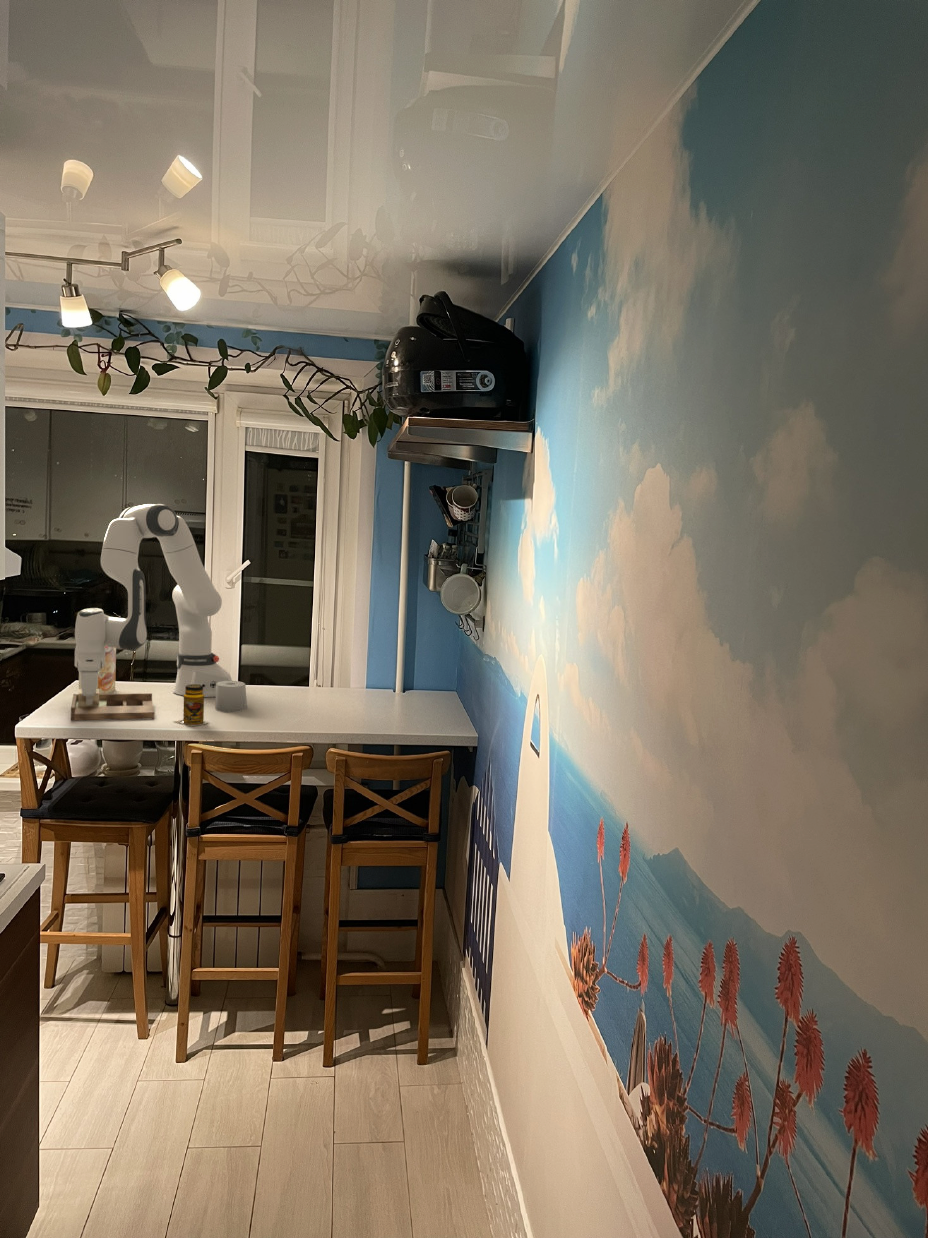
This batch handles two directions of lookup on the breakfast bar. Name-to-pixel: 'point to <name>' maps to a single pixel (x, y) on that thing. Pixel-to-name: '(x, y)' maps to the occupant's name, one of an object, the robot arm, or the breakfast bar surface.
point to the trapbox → (115, 707)
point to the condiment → (193, 706)
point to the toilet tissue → (230, 696)
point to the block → (83, 699)
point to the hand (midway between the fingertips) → (89, 703)
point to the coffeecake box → (106, 672)
